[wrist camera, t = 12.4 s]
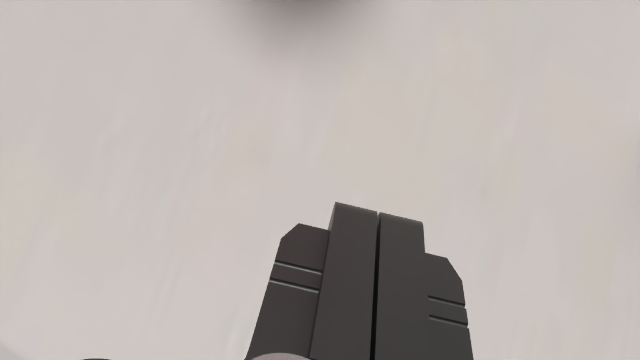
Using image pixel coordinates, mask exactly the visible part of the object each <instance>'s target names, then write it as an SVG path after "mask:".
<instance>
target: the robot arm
mask: <svg viewBox="0 0 640 360" xmlns="http://www.w3.org/2000/svg"><path fill="white" fill-rule="evenodd" d="M464 307H465V299H464V292H463V285H462V280H461V279H460V277H459V276H458V274H457V273H456V271H455V270H454V268H453V267H452V265H451V264H450V262H449V261H448V259H447V258H445V257H440V256H436V255H432V254H428V253H425V246H424V231H423V223H422V222H420V221H416V220H411V219H407V218H403V217H399V216H394V215H390V214H386V213H382V212H380V213H379V214H378V217H377V211H372V210H368V209H364V208H360V207H355V206H351V205H347V204H343V203H338V202H335V205H334V208H333V212H332V216H331V220H330V223H329V227H328V230H325V229H321V228H317V227H312V226H308V225H304V224H300V223H299V224H297V225H296V226H295V227H294V228H293V229H292V230H290V231H289V232H288V233H287V234H286V235H285V236H284V237H282V238H281V241H280V245H279V248H278V251H277V255H276V258H275V262H274V265H273V268H272V272H271V275H270V279H269V282H268V286H267V289H266V292H265V296H264V299H263V303H262V306H261V310H260V313H259V316H258V320H257V323H256V327H255V330H254V334H253V337H252V340H251V344H250V347H249V351H248V353H247V355H246V358H245V359H244V360H473V353H472V347H471V340H470V333H469V328H467V326H468V319H467V312H466V309H465V308H464ZM84 360H108V359H84Z"/></svg>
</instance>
